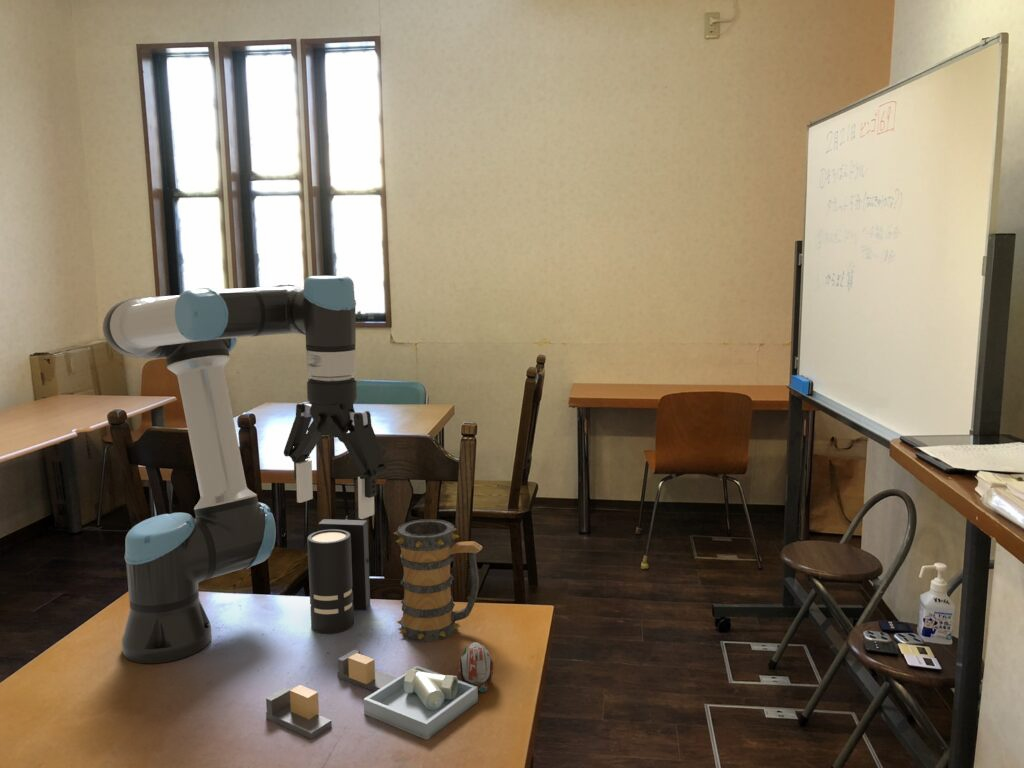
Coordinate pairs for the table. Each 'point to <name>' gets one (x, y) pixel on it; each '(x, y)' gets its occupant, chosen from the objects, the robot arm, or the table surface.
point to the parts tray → (417, 707)
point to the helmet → (476, 665)
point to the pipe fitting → (431, 687)
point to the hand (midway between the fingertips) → (334, 508)
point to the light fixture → (338, 574)
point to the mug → (432, 578)
